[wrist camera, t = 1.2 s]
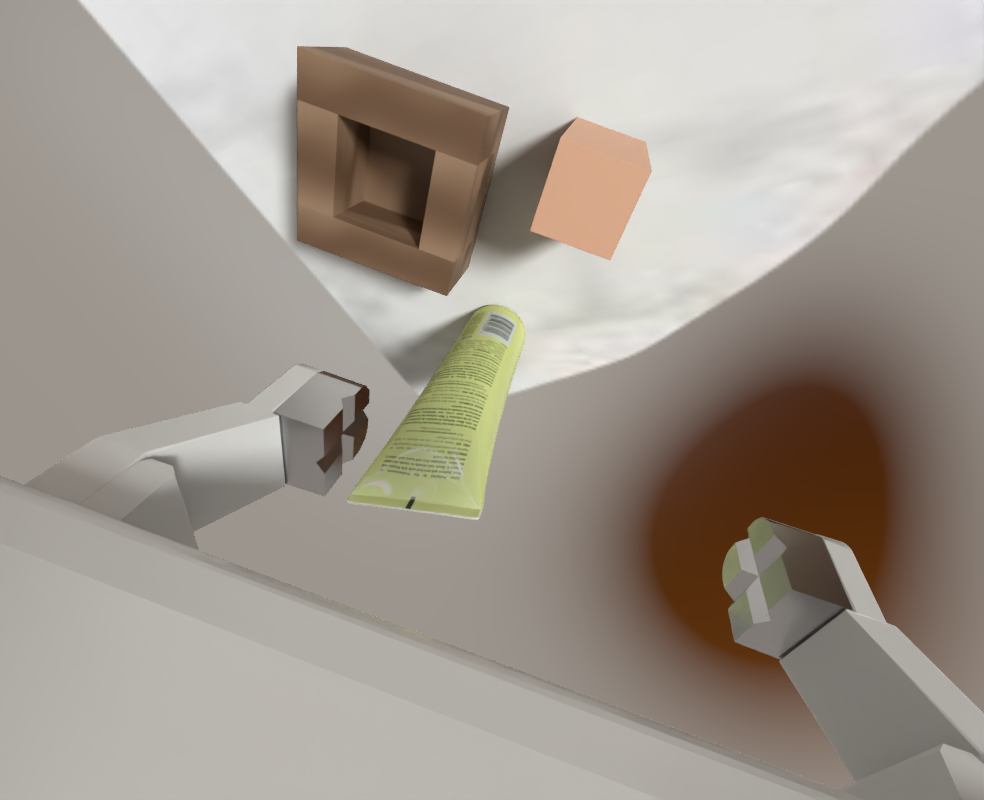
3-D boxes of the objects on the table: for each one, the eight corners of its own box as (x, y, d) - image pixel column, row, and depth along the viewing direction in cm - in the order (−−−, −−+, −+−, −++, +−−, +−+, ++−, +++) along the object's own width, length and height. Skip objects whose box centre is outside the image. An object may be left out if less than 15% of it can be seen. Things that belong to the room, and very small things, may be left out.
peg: (577, 117, 28) (560, 137, 21) (645, 142, 28) (651, 171, 21) (551, 191, 31) (529, 230, 24) (614, 214, 31) (609, 260, 24)
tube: (494, 370, 41) (416, 556, 26) (452, 331, 40) (343, 504, 24) (539, 332, 38) (479, 520, 23) (495, 289, 36) (399, 458, 21)
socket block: (346, 47, 29) (297, 46, 25) (509, 107, 29) (488, 116, 25) (336, 218, 36) (297, 240, 32) (468, 267, 36) (446, 295, 31)
